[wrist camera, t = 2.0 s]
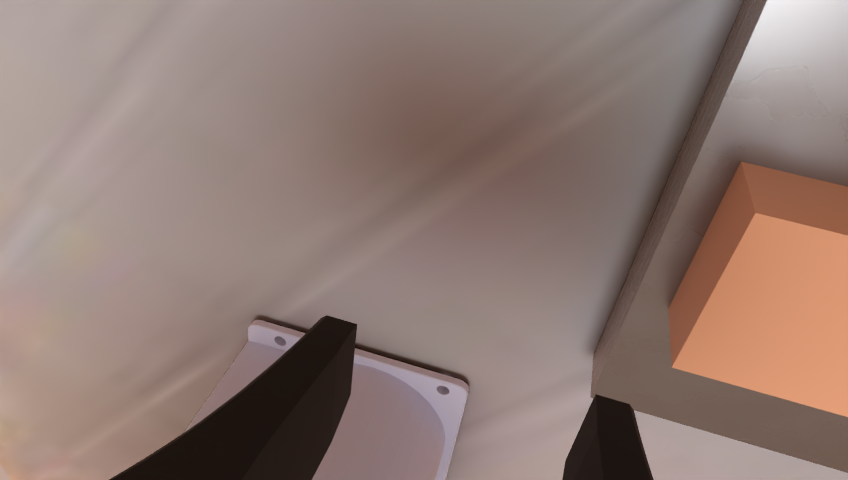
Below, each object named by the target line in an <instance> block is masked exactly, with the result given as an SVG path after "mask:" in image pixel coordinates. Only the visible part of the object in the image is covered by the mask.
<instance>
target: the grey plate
mask: <svg viewBox="0 0 848 480" xmlns="http://www.w3.org/2000/svg"><path fill="white" fill-rule="evenodd" d="M741 162H745V163H749V164H754V165H758V166H762V167H766V168H771V169H775V170H779V171H783V172H788V173H792V174H796V175H800V176H804V177H809V178H813V179H817V180H821V181H826V182H830V183H834V184H838V185H843V186H847V187H848V0H744V2H743V4H742V7H741V9H740V12H739V14H738V16H737V19H736V21H735V23H734V26H733V28H732V30H731V33H730V35H729V37H728V40H727V42H726V45H725V47H724V49H723V52H722V54H721V56H720V59H719V61H718V63H717V66H716V68H715V70H714V73H713V75H712V78H711V80H710V82H709V85H708V87H707V89H706V92H705V94H704V96H703V99H702V101H701V103H700V106H699V108H698V111H697V113H696V115H695V118H694V120H693V122H692V125H691V127H690V129H689V132H688V134H687V137H686V139H685V141H684V144H683V146H682V148H681V151H680V153H679V155H678V158H677V160H676V162H675V165H674V167H673V170H672V172H671V174H670V177H669V179H668V181H667V184H666V186H665V188H664V191H663V193H662V195H661V198H660V200H659V203H658V205H657V207H656V210H655V212H654V214H653V217H652V219H651V221H650V224H649V226H648V228H647V231H646V233H645V236H644V238H643V240H642V243H641V245H640V247H639V250H638V252H637V254H636V257H635V259H634V262H633V264H632V266H631V269H630V271H629V273H628V276H627V278H626V280H625V283H624V285H623V287H622V290H621V292H620V295H619V297H618V299H617V302H616V304H615V306H614V309H613V311H612V313H611V316H610V318H609V320H608V323H607V325H606V328H605V330H604V332H603V335H602V337H601V339H600V342H599V344H598V346H597V349H596V351H595V353H594V357H593V371H592V384H591V397H592V398H594V397H595V394H597V395H600V396H604V397H607V398H611V399H614V400H617V401H621V402H624V403H628V404H630V405H631V407H632V408H633V410H636V411H640V412H643V413H646V414H650V415H653V416H657V417H660V418H663V419H667V420H670V421H674V422H677V423H680V424H684V425H687V426H691V427H694V428H697V429H701V430H704V431H708V432H711V433H714V434H718V435H721V436H725V437H728V438H732V439H735V440H738V441H742V442H745V443H749V444H752V445H755V446H759V447H762V448H766V449H769V450H772V451H776V452H779V453H783V454H786V455H789V456H793V457H796V458H800V459H803V460H806V461H810V462H813V463H817V464H820V465H823V466H827V467H830V468H834V469H837V470H840V471H844V472H847V473H848V417H846V416H842V415H838V414H835V413H831V412H828V411H824V410H821V409H817V408H814V407H810V406H807V405H803V404H800V403H796V402H792V401H789V400H785V399H782V398H778V397H775V396H771V395H768V394H764V393H761V392H757V391H754V390H750V389H746V388H743V387H739V386H736V385H732V384H729V383H725V382H722V381H718V380H715V379H711V378H707V377H704V376H700V375H697V374H693V373H690V372H686V371H683V370H679V369H676V368H672V363H671V346H670V330H669V314H668V308H669V306H670V304H671V302H672V300H673V298H674V296H675V294H676V292H677V290H678V288H679V286H680V284H681V282H682V280H683V278H684V276H685V274H686V272H687V270H688V268H689V266H690V264H691V262H692V260H693V258H694V256H695V254H696V252H697V250H698V248H699V246H700V244H701V242H702V239H703V237H704V235H705V233H706V231H707V229H708V227H709V225H710V223H711V221H712V219H713V217H714V215H715V213H716V211H717V209H718V207H719V205H720V203H721V201H722V199H723V197H724V195H725V193H726V191H727V189H728V187H729V185H730V183H731V181H732V179H733V177H734V175H735V173H736V171H737V169H738V167H739V165H740V163H741Z"/></svg>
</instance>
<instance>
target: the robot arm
mask: <svg viewBox="0 0 848 480" xmlns="http://www.w3.org/2000/svg"><path fill="white" fill-rule="evenodd" d="M356 330H357V324H354V323H351V322H348V321H344V320H341V319H337V318H334V317H330V316H325V317H323V318H321V319H320V320H319V321H318V322H317V323H316V324H315V325H314V326H313V327H312V328H311V329H310V330H309V331H308V332H307V333H303V332H299V331H296V330H293V329H289V328H286V327H283V326H279V325H276V324H273V323H269V322H266V321H262V320H254V321H253V322H252V323H251V324H250V325H249V327H248V330H247V331H248V341H247V343H246V344H245V346H244V347H243V349H242V350H241V351H240V353H239V354H238V356H237V357H236V359H235V360H234V361H233V363H232V364H231V366H230V367H229V369H228V370H227V371H226V373H225V374H224V376H223V377H222V379H221V380H220V381H219V383H218V384H217V386H216V387H215V389H214V390H213V391H212V393H211V394H210V396H209V397H208V399H207V400H206V401H205V403H204V404H203V406H202V407H201V408H200V410H199V411H198V413H197V414H196V416H195V417H194V418H193V420H192V421H191V423H190V424H189V426H188V427H187V428H186V430H185V431H184V433H183V434H182V435H180V436H179V437H177V438H176V439H174V440H173V441H171V442H170V443H168V444H167V445H165V446H164V447H162V448H160V449H159V450H157V451H156V452H154V453H153V454H151V455H150V456H148V457H146V458H145V459H143V460H141V461H140V462H138V463H136V464H135V465H133V466H131V467H130V468H128V469H126V470H125V471H123V472H121V473H120V474H118V475H116V476H115V477H113V478H111V479H110V480H446V477H447V473H448V469H449V465H450V461H451V458H452V454H453V450H454V446H455V442H456V439H457V435H458V431H459V427H460V423H461V420H462V416H463V412H464V408H465V405H466V401H467V397H468V393H469V387H468V385H467V384H466V383H465V382H464V381H462V380H460V379H457V378H454V377H450V376H447V375H444V374H440V373H437V372H433V371H430V370H427V369H423V368H420V367H417V366H413V365H410V364H407V363H403V362H400V361H397V360H393V359H390V358H387V357H383V356H380V355H376V354H373V353H370V352H366V351H363V350H360V349H356V348H355V341H356ZM281 337H282V338H281ZM283 338H284V339H283ZM443 386H445V387H443ZM563 480H653V477H652V474H651V471H650V467H649V464H648V461H647V458H646V455H645V451H644V448H643V444H642V441H641V437H640V433H639V430H638V426H637V422H636V418H635V414H634V410H633V408H632V407H631V405H630V404H628V403H624V402H621V401H617V400H614V399H611V398H607V397H604V396H600V395H597V394H595V397H594V399H593V401H592V403H591V406H590V408H589V410H588V412H587V414H586V417H585V419H584V421H583V423H582V426H581V428H580V430H579V432H578V434H577V437H576V439H575V441H574V443H573V445H572V448H571V450H570V452H569V454H568V457H567V459H566V462H565V468H564V474H563Z"/></svg>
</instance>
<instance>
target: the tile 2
mask: <svg viewBox="0 0 848 480" xmlns="http://www.w3.org/2000/svg"><path fill="white" fill-rule="evenodd" d="M668 314H669V330H670V346H671V363H672V368H676V369H679V370H683V371H686V372H690V373H693V374H697V375H700V376H704V377H707V378H711V379H715V380H718V381H722V382H725V383H729V384H732V385H736V386H739V387H743V388H746V389H750V390H754V391H757V392H761V393H764V394H768V395H771V396H775V397H778V398H782V399H785V400H789V401H792V402H796V403H800V404H803V405H807V406H810V407H814V408H817V409H821V410H824V411H828V412H831V413H835V414H838V415H842V416H846V417H848V187H847V186H843V185H838V184H834V183H830V182H826V181H821V180H817V179H813V178H809V177H804V176H800V175H796V174H792V173H788V172H783V171H779V170H775V169H771V168H766V167H762V166H758V165H754V164H749V163H745V162H741V163H740V165H739V167H738V169H737V171H736V173H735V175H734V177H733V179H732V181H731V183H730V185H729V187H728V189H727V191H726V193H725V195H724V197H723V199H722V201H721V203H720V205H719V207H718V209H717V211H716V213H715V215H714V217H713V219H712V221H711V223H710V225H709V227H708V229H707V231H706V233H705V235H704V237H703V239H702V242H701V244H700V246H699V248H698V250H697V252H696V254H695V256H694V258H693V260H692V262H691V264H690V266H689V268H688V270H687V272H686V274H685V276H684V278H683V280H682V282H681V284H680V286H679V288H678V290H677V292H676V294H675V296H674V298H673V300H672V302H671V304H670V306H669V308H668Z"/></svg>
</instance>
